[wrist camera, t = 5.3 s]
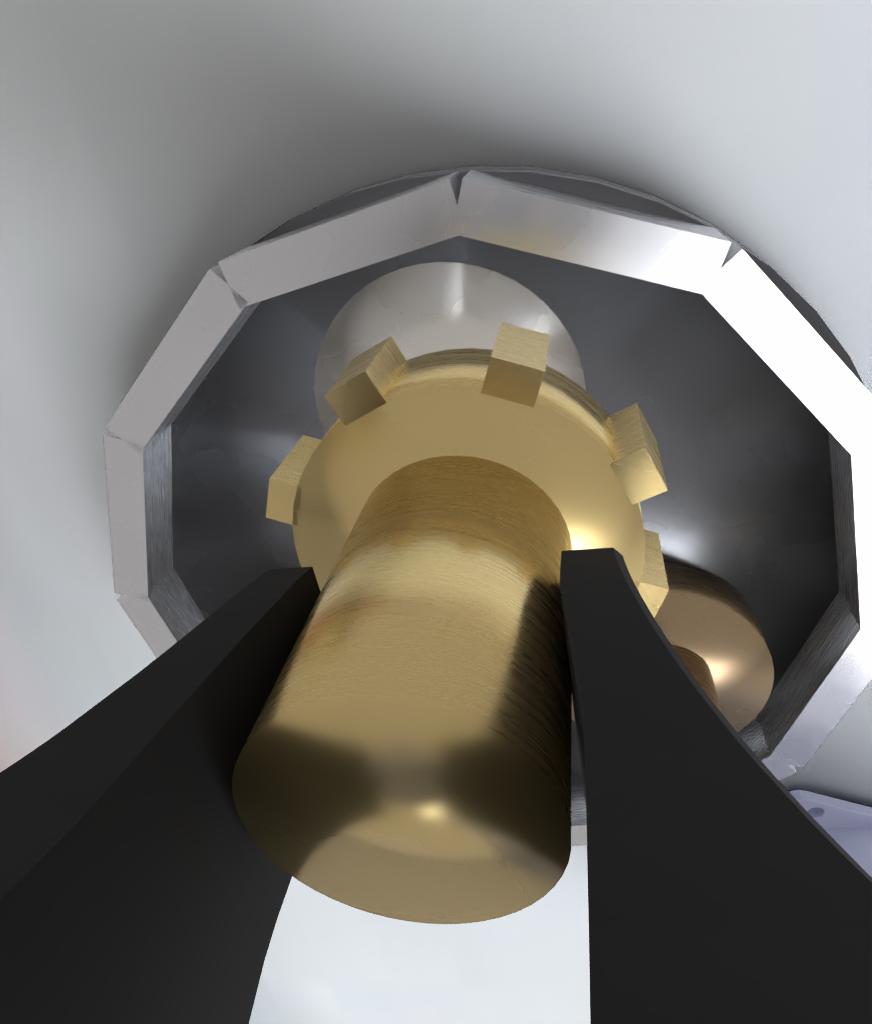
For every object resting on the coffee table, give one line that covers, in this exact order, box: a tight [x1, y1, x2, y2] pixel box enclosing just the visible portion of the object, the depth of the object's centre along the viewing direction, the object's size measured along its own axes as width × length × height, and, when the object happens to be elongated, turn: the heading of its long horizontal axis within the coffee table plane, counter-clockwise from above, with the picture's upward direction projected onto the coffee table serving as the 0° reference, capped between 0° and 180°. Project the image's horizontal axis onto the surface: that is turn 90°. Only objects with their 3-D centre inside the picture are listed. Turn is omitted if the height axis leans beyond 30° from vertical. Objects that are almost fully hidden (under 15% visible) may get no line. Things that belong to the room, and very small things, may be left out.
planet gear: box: [232, 322, 669, 924], centre depth 9 cm, size 6×6×6 cm
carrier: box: [103, 166, 872, 846], centre depth 18 cm, size 21×21×5 cm
